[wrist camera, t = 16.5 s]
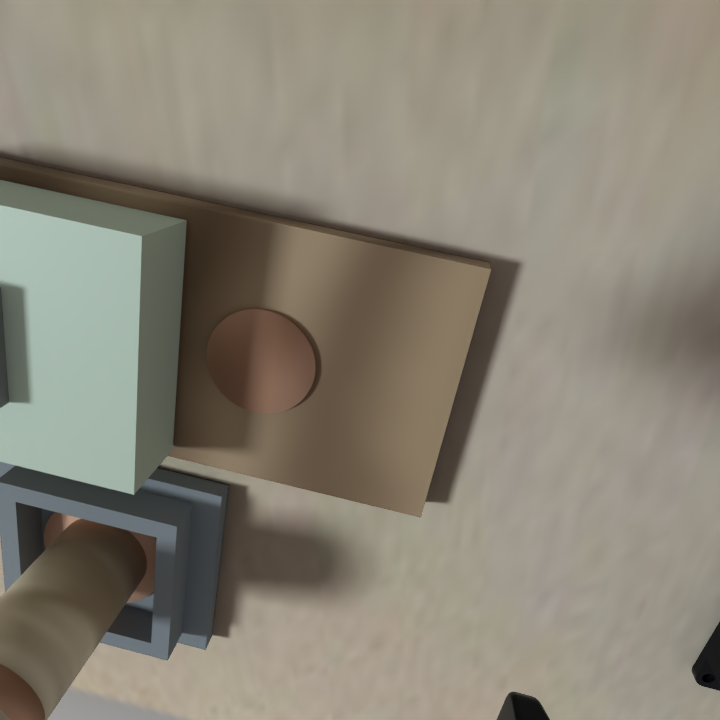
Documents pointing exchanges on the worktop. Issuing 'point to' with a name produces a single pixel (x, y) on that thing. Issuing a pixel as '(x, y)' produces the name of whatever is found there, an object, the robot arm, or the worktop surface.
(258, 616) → the worktop surface
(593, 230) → the worktop surface
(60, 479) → the blue-grey square tray
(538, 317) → the worktop surface
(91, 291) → the cover
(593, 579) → the worktop surface
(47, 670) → the peg
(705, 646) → the robot arm
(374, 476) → the board
